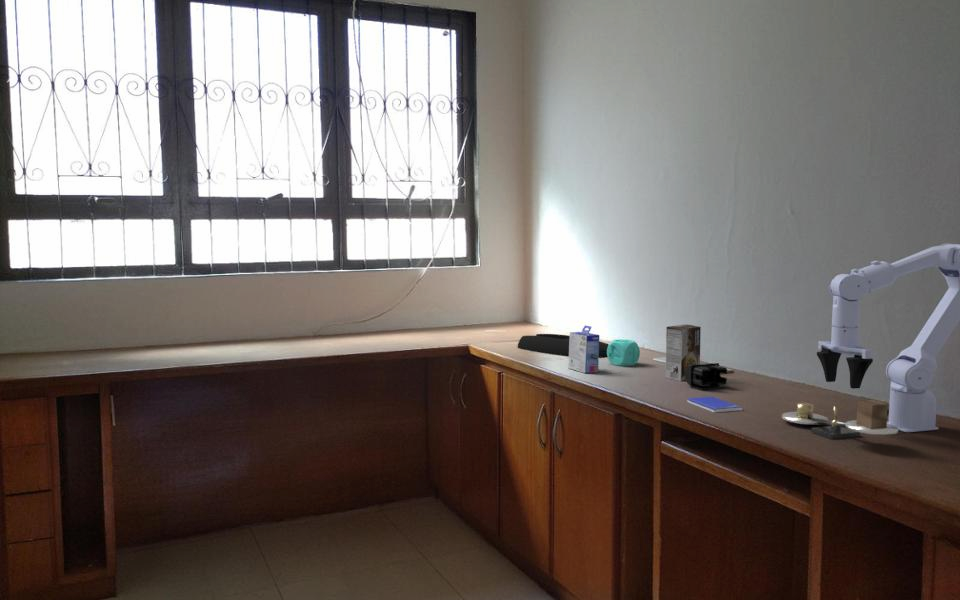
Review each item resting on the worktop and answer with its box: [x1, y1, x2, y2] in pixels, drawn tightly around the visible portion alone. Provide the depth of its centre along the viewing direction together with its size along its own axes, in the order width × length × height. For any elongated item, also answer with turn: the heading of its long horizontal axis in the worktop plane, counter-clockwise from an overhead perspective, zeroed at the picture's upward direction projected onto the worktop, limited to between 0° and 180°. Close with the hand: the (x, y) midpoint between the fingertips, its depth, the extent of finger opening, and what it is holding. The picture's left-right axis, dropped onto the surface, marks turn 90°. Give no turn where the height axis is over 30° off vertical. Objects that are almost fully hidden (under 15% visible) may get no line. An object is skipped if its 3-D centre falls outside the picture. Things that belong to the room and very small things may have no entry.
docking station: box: [517, 333, 610, 358], centre depth 289 cm, size 25×41×5 cm, turn 42°
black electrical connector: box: [685, 362, 728, 392], centre depth 221 cm, size 10×7×7 cm
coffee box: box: [664, 324, 702, 382], centre depth 234 cm, size 9×6×16 cm
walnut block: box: [856, 399, 889, 429], centre depth 160 cm, size 4×4×5 cm
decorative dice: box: [607, 338, 641, 367], centre depth 258 cm, size 8×8×8 cm
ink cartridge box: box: [568, 325, 600, 374], centre depth 246 cm, size 10×6×14 cm, turn 28°
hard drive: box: [686, 396, 743, 413], centre depth 198 cm, size 2×8×12 cm
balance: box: [781, 402, 899, 440], centre depth 170 cm, size 10×30×6 cm, turn 17°
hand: (842, 384), depth 176 cm, fingers open, 7 cm apart
